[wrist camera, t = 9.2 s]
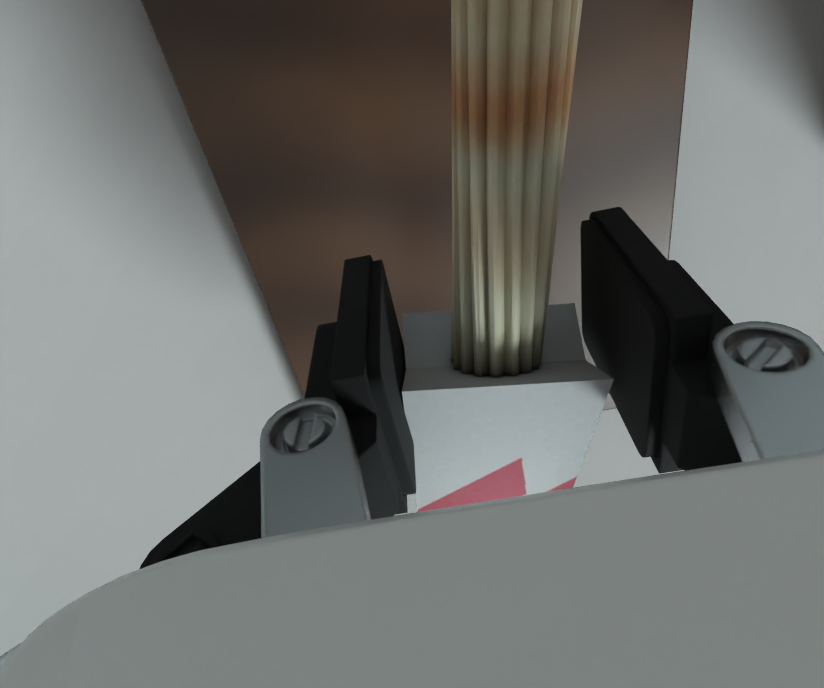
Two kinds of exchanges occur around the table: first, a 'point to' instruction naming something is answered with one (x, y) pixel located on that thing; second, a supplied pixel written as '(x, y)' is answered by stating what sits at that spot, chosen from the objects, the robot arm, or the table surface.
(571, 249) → the board
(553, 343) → the white and tan bar
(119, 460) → the table surface
